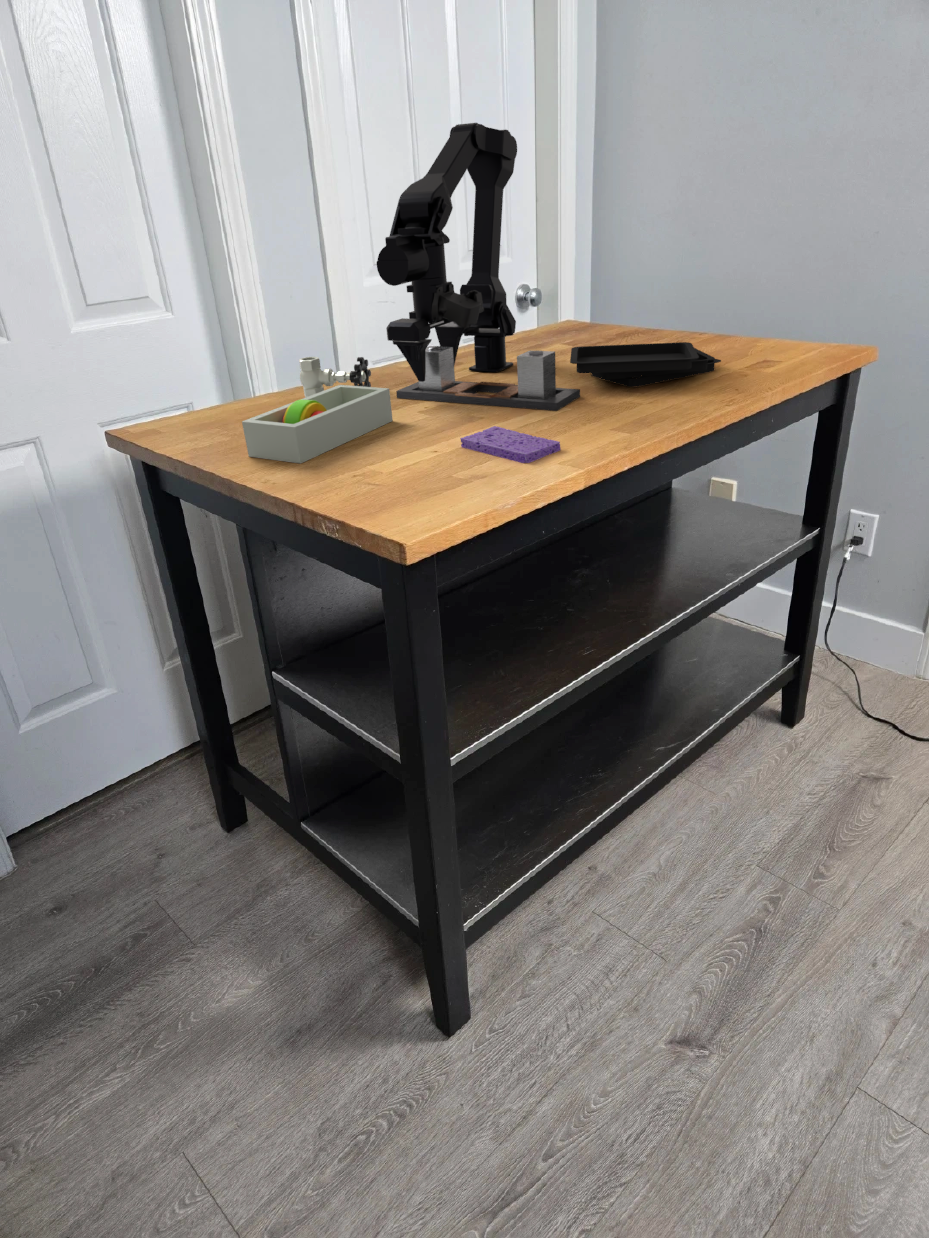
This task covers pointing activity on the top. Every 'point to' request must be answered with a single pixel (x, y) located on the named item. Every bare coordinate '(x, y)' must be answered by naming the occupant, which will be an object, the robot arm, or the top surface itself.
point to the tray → (642, 362)
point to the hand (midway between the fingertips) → (436, 375)
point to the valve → (330, 375)
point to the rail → (503, 396)
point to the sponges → (510, 444)
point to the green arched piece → (302, 411)
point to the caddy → (318, 424)
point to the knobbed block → (438, 369)
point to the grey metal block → (536, 375)
